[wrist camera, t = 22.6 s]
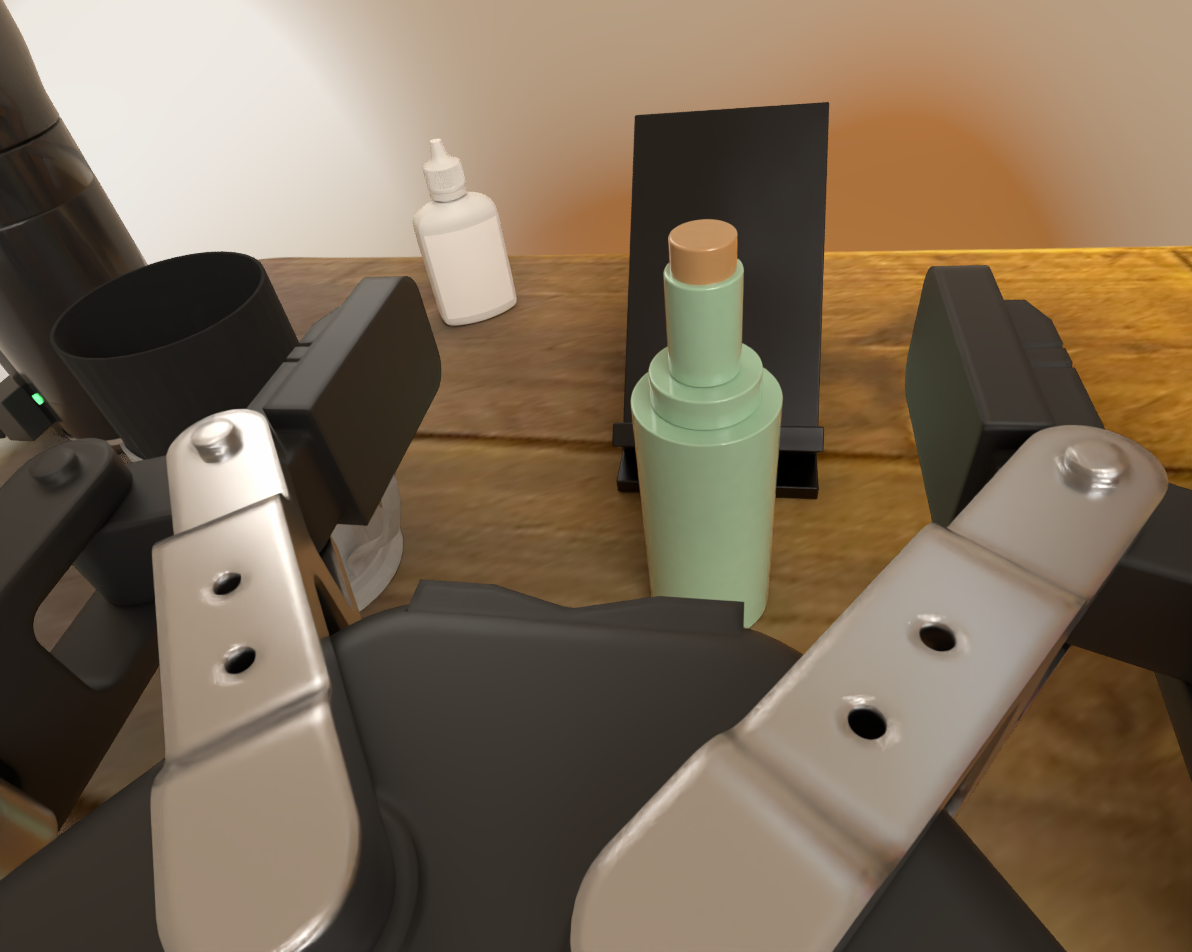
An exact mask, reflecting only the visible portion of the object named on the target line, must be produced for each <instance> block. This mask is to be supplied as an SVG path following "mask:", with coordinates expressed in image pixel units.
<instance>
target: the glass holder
mask: <svg viewBox="0 0 1192 952" xmlns="http://www.w3.org/2000/svg"><path fill="white" fill-rule="evenodd" d="M50 343H51V345H52V347H53V348H54V350H55V351H56V353H57V354H58V355H59V357H60V358H61V359H62V361H63V362H64V363H65V365H66V366H67V367H68V369H69V370H70V371H71V373H72V374H73V375H74V377H75V378H76V379H77V381H78V382H79V383H80V385H81V386H82V387H83V389H84V390H85V391H86V393H87V394H88V395H89V397H90V398H91V399H92V401H93V402H94V403H95V405H96V406H97V407H98V409H99V410H100V411H101V413H102V414H103V415H104V417H105V418H106V419H107V421H108V422H109V423H110V425H111V426H112V427H113V429H114V430H115V431H116V433H117V434H118V435H119V437H120V438H121V439H122V441H123V442H122V443H120V446H121V448H122V449H123V451H124V452H125V453H126V455H127V456H128V457H129V459H130V460H131V461H132V462H136V461H141V460H146V459H151V458H156V457H161V456H166V455H167V452H168V449H169V447H170V445H171V444H172V442H173V441H174V440H175V439H176V438H177V437H178V436H179V435H180V434H181V433H182V432H183V431H184V430H186V429H187V428H188V427H190V426H191V425H193V424H195V423H196V422H198V421H200V420H202V419H204V418H206V417H209V416H211V415H214V414H217V413H220V412H224V411H228V410H236V409H247V407H248V406H249V405H250V403H251V402H252V401H253V400H254V398H255V397H256V396H257V395H258V393H259V392H260V391H261V390H262V388H263V387H264V386H265V385H266V383H267V382H268V381H269V380H270V378H271V377H272V376H273V375H274V373H275V372H276V371H277V370H278V368H279V367H280V366H281V364H282V363H283V362H287V359H286V358H287V357H288V356H289V354H290V353H291V352H292V351H293V349H294V348H295V347H299V341H298V339H297V337H296V335H295V333H294V331H293V329H292V327H291V324H290V322H289V320H288V318H287V316H286V314H285V312H284V309H283V307H282V305H281V303H280V301H279V299H278V297H277V295H276V292H275V290H274V288H273V286H272V284H271V282H270V280H269V277H268V275H267V273H266V271H265V269H264V267H263V266H262V264H261V263H260V262H259V261H258V260H257V259H255V258H253V257H251V256H248V255H246V254H241V253H236V252H205V253H196V254H190V255H185V256H179V257H175V258H171V259H167V260H163V261H160V262H156V263H153V264H150V265H147V266H144V267H141V268H138V269H136V270H133V271H131V272H128V273H126V274H123V275H121V276H119V277H117V278H115V279H113V280H110V281H108V282H106V283H105V284H103V285H101V286H99V287H97V288H96V289H94V290H92V291H91V292H89V293H88V294H86V295H85V296H83V297H82V298H80V299H79V300H77V301H76V302H75V303H74V304H73V305H71V306H70V307H69V308H68V309H67V310H66V311H65V312H64V313H63V314H62V315H61V316H60V317H59V318H58V320H57V321H56V323H55V324H54V326H53V328H52V331H51V333H50ZM381 503H382V508H381V507H380V505H378V507H377V508H376V510H375V512H374V514H373V516H372V518H371V520H370V522H369V524H368V526H363V525H344V524H337V525H336V527H335V529H334V530H333V532H332V534H331V536H332V538H333V540H334V542H335V543H336V545H337V547H338V550H339V553H340V556H341V559H342V562H343V565H344V568H345V571H346V574H347V577H348V580H349V582H350V585H351V588H352V591H353V594H354V597H355V600H356V603H357V606H358V609H359V612H360V611H361V610H363V609H364V608H365V607H366V606H368V605H369V604H370V603H371V602H372V601H373V600H374V599H376V598H377V597H378V595H379V594H380V593H381V592H382V591H383V590H384V589H385V588H386V586H387V585H388V584H389V582H390V581H391V579H392V578H393V576H394V574H395V573H396V570H397V568H398V566H399V563H400V561H401V557H402V552H403V537H402V533H401V529H400V522H401V499H400V494H399V489H398V484H397V480H396V477H395V475H394V476H393V478H392V480H391V482H390V483H389V485H388V487H387V489H386V491H385V493H384V495H383V497H382V499H381Z"/></svg>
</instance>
